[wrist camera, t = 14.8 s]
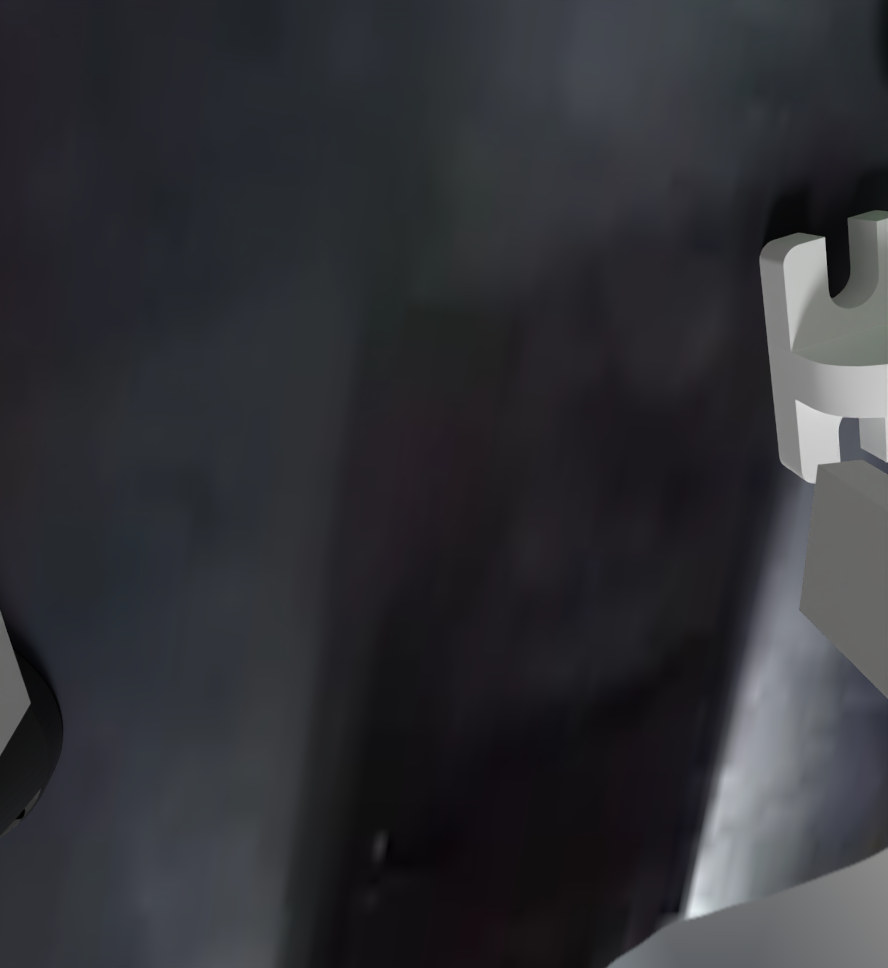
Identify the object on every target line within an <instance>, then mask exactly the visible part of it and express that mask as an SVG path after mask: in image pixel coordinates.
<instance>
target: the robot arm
mask: <svg viewBox="0 0 888 968" xmlns="http://www.w3.org/2000/svg"><path fill="white" fill-rule="evenodd" d="M799 610H800V611H801V612H802V613H803V614H804V615H805V616H806V617H807V618H808V619H809V620H810V621H811V622H812V623H813V624H814V625H815V626H816V627H817V628H818V629H819V630H820V631H821V632H822V633H823V634H824V635H825V636H826V637H827V638H828V639H829V640H830V641H831V642H832V643H833V644H834V645H835V646H836V647H837V648H838V649H839V650H840V651H841V652H842V653H843V654H844V655H845V656H846V657H847V658H848V659H849V660H850V661H851V662H852V663H853V664H854V665H855V666H856V667H857V668H858V669H859V670H860V671H861V672H862V673H863V674H864V675H865V676H866V677H867V678H868V679H869V680H870V681H871V682H872V683H873V684H874V685H875V686H876V687H877V688H878V689H879V690H880V691H881V692H882V693H883V694H884V695H885V696H886V697H887V698H888V475H887V474H886V473H884V472H882V471H881V470H879V469H877V468H876V467H874V466H872V465H870V464H869V463H867V462H865V461H864V460H856V461H847V462H837V463H828V464H819V465H818V467H817V475H816V483H815V491H814V498H813V506H812V514H811V522H810V530H809V538H808V546H807V554H806V562H805V569H804V577H803V585H802V593H801V601H800V609H799ZM62 741H63V730H62V722H61V717H60V713H59V709H58V707H57V704H56V701H55V699H54V697H53V695H52V693H51V691H50V689H49V688H48V686H47V685H46V683H45V682H44V680H43V679H42V678H41V676H40V675H39V674H38V673H37V671H36V670H35V669H34V668H33V667H32V666H31V665H30V664H29V663H28V662H27V661H26V660H25V659H24V658H23V657H22V656H20V655H19V654H18V653H17V652H15V651H14V650H13V648H12V645H11V642H10V639H9V636H8V633H7V630H6V627H5V624H4V621H3V618H2V615H1V612H0V837H2V836H4V835H5V834H7V833H8V832H9V831H11V830H12V829H13V828H14V827H15V826H17V825H18V824H19V823H20V822H21V821H22V820H23V819H24V818H25V817H26V816H27V815H28V814H29V813H30V811H31V810H32V809H33V808H34V806H35V805H36V803H37V802H38V801H39V799H40V797H41V796H42V794H43V792H44V790H45V788H46V786H47V784H48V782H49V780H50V778H51V776H52V774H53V772H54V770H55V767H56V765H57V763H58V760H59V757H60V753H61V749H62Z"/></svg>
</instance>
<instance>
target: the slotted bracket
mask: <svg viewBox="0 0 888 968" xmlns="http://www.w3.org/2000/svg"><path fill="white" fill-rule="evenodd" d="M848 233H849V251H850V268H851V269H850V277H849V280H848V283H847V284H846V286H845V288H844V289H843V290H842V291H841V292H840V293H839V294H838V295H837V296H835V297H834V298H831V297H830V294H829V289H828V274H827V260H826V245H825V237H822V236H816V235H810V234H804V233H795V234H792V235H789V236H785V237H782V238H778V239H775V240H772V241H770V242H769V243H767V244H766V245H765V246H764V248H763V249H762V251H761V254H760V271H761V280H762V290H763V300H764V310H765V319H766V329H767V339H768V349H769V359H770V369H771V379H772V388H773V398H774V408H775V417H776V427H777V437H778V447H779V456H780V461H781V463H782V464H783V465H784V466H786V467H787V468H789V469H790V470H791V471H793V472H794V473H796V474H797V475H799V476H800V477H801V478H803V479H804V480H806V481H807V482H809V483H816V475H817V467H818V465H819V464H828V463H837V462H840V451H839V436H838V429H839V424H840V421H841V419H842V418H843V417H851V418H859V427H860V445H861V448H862V449H864V450H866V451H868V452H869V453H871V454H873V455H875V456H876V457H878V458H880V459H882V460H884V461H885V462H888V211H880V210H874V211H870V212H866V213H863V214H860V215H856V216H853V217H850V218H848Z"/></svg>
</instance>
